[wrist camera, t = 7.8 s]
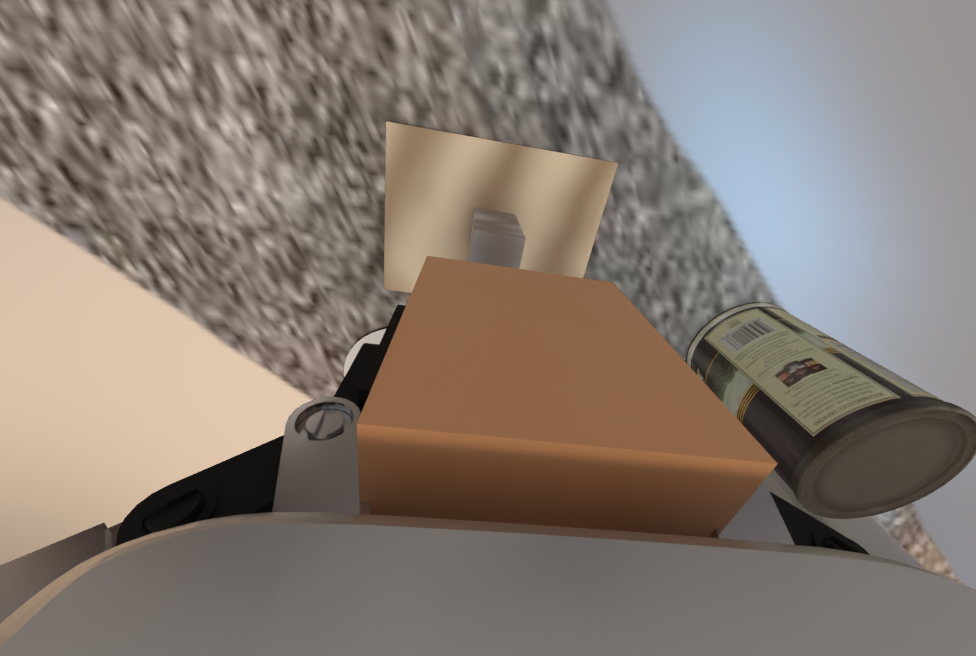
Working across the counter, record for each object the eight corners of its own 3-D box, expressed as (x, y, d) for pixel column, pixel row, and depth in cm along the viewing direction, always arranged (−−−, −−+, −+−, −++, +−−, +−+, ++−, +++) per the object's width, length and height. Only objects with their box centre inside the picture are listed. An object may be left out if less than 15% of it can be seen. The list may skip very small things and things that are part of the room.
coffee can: (738, 403, 37) (866, 534, 25) (664, 369, 35) (764, 497, 23) (820, 327, 33) (1023, 442, 21) (741, 283, 31) (918, 383, 18)
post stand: (611, 161, 26) (664, 172, 18) (567, 307, 31) (595, 360, 24) (391, 122, 24) (351, 116, 17) (388, 282, 30) (357, 331, 22)
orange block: (613, 282, 10) (778, 463, 5) (564, 419, 13) (631, 640, 7) (427, 255, 10) (356, 423, 4) (415, 403, 13) (363, 630, 7)
